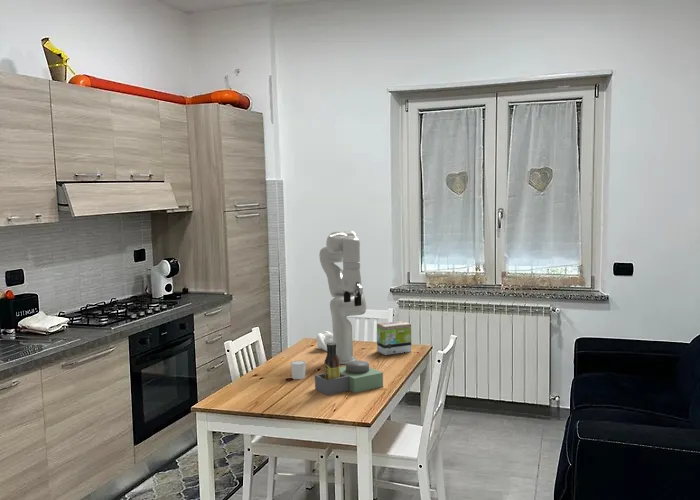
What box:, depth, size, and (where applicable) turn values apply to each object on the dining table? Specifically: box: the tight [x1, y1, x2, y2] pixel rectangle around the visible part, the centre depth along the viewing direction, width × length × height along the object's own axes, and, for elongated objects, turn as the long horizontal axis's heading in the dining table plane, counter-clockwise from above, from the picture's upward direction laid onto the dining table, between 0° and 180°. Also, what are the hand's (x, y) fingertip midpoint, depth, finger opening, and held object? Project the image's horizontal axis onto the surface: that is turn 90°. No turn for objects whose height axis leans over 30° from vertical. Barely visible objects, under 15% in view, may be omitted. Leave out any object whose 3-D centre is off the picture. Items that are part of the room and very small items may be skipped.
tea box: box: [376, 320, 412, 356], centre depth 328 cm, size 15×10×15 cm, turn 114°
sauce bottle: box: [324, 342, 341, 380], centre depth 268 cm, size 7×6×20 cm
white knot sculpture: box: [316, 330, 333, 352], centre depth 337 cm, size 11×12×9 cm
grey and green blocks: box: [314, 360, 384, 396], centre depth 273 cm, size 18×25×9 cm
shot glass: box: [289, 360, 307, 380], centre depth 288 cm, size 7×7×7 cm
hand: (352, 303), depth 286 cm, fingers open, 9 cm apart
